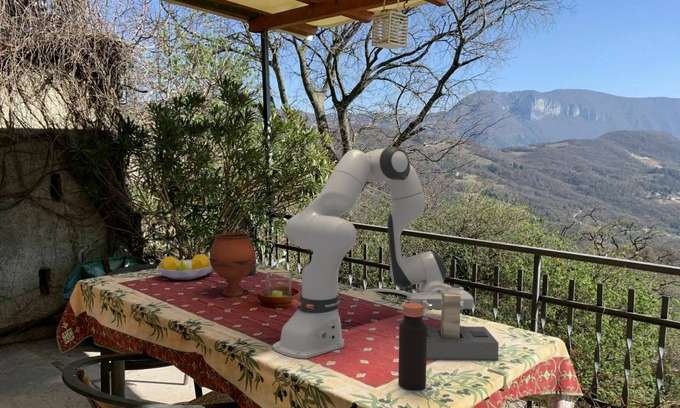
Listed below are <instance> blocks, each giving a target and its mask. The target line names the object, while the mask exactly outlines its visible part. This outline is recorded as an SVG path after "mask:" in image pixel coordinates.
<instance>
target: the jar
mask: <svg viewBox="0 0 680 408" xmlns="http://www.w3.org/2000/svg"><path fill="white" fill-rule="evenodd" d="M256 272H257V261H256V262H255V265H254V267H253V269H252V270H251V271H250V273H249V274H248V275H246V277H245V278H248V277H247V276H250V277H254V276H255V275H256ZM253 275H254V276H253Z"/></svg>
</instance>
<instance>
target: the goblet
mask: <svg viewBox="0 0 680 408" xmlns="http://www.w3.org/2000/svg"><path fill="white" fill-rule="evenodd" d="M214 237H215V238H214V241H213V244H212V246H211V250H210V253H209V261H210V264H211V267H212V268H213V271H214V272H215V273H216V274H217V276H219V277H220V278H223V279H224V280H226V284H227V286H226V287H225V288H224V289H223V292H222V295H224V296H225V297H227V296H228V297H236V296H237V297H238V296H241V295H243V294H244V289H243V288H242V287H241V286H240V283H242V279H244V278H246V277H245V276H246V275H248V274H249V273H250V271H251V270H252V269H253V267H254V265H255V262H256V263H257V256H256V252H255V248H254V246H253V244H252V241H251V239H250V238H251V235H250V234H249V233H245V232H226V233H219V234H217V235H215V236H214Z"/></svg>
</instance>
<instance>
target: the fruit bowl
mask: <svg viewBox="0 0 680 408" xmlns="http://www.w3.org/2000/svg"><path fill="white" fill-rule="evenodd" d="M156 269H157V270H158V271H159V273H160V274H161V275H162V276H164V277H167V278H168V279H172V280H179V281H180V280H181V281H182V280H184V281H191V280H195V279H197V278H201V277H203V276H206V275H208V274H209V273H210V272H213V271H214V270H213V268H212V267H211V264H210V258H208V256H207V255H206V254H204V253H203V254H201V253H200V254H195V255H194V256H193V258H192V259H180V260H179V259H178V258H176V257H175V256H173V255H170V256H165V257H164V258H162V259H161V260H160V263H159V265H157V266H156Z"/></svg>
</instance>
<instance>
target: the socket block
mask: <svg viewBox="0 0 680 408" xmlns="http://www.w3.org/2000/svg"><path fill="white" fill-rule="evenodd" d="M426 326H427V355H426V361H427V360H428V361H429V360H434V361H440V360H441V361H442V360H443V361H449V360H450V361H499V341H497V339H496V338H495V337H494V336H493V335H492V334H491V332H490V331H489V330H488V329H487V328H486V326H464V325H462V326H461V325H460V338H441V325H437V326H435V325H426Z"/></svg>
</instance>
